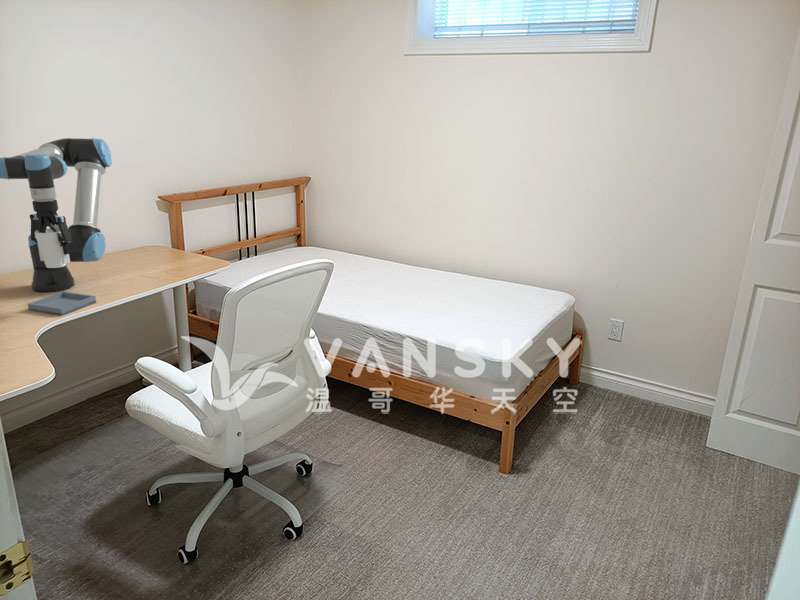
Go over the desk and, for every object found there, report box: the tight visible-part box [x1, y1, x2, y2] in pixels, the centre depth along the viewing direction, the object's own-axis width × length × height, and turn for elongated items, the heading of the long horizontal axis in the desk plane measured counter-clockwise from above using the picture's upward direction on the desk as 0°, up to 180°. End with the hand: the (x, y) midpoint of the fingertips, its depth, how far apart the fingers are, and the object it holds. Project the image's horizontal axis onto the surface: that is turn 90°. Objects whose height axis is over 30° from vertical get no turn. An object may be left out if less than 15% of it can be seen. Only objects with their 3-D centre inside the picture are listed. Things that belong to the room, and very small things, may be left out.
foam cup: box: [35, 227, 67, 268], centre depth 210 cm, size 10×9×13 cm
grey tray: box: [27, 290, 97, 317], centre depth 217 cm, size 16×16×3 cm
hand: (55, 261), depth 212 cm, fingers closed on foam cup, 9 cm apart
